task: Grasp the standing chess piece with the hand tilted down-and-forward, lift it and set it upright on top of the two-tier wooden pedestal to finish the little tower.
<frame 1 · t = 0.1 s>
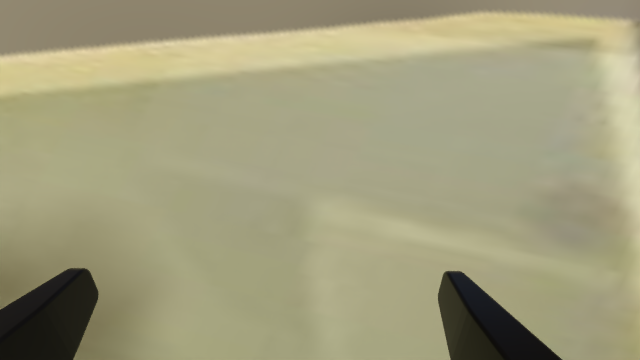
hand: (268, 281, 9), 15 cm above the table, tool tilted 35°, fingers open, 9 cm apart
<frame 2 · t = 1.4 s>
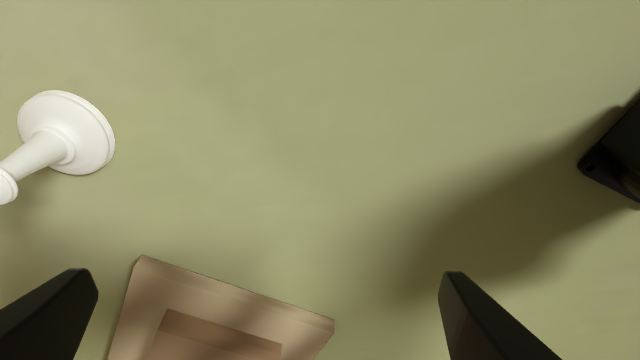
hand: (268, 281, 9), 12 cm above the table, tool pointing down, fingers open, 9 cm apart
pedestal: (213, 345, 30), on the table
chess piece: (73, 131, 20), on the table
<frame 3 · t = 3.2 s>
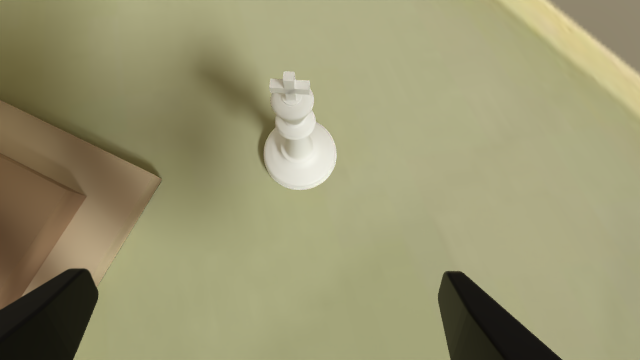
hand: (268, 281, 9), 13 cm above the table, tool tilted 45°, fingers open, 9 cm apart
chess piece: (300, 155, 24), on the table
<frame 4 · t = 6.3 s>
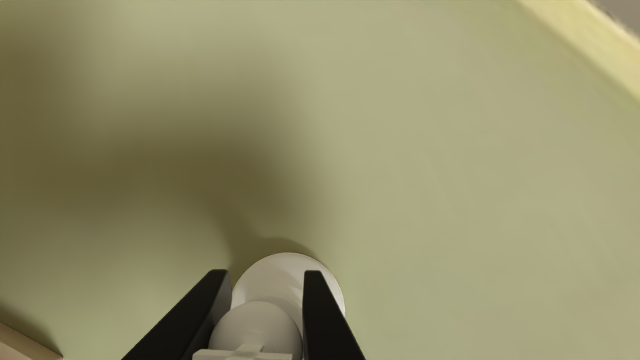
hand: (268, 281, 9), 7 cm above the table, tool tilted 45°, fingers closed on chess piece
chess piece: (287, 311, 15), on the table, touching gripper
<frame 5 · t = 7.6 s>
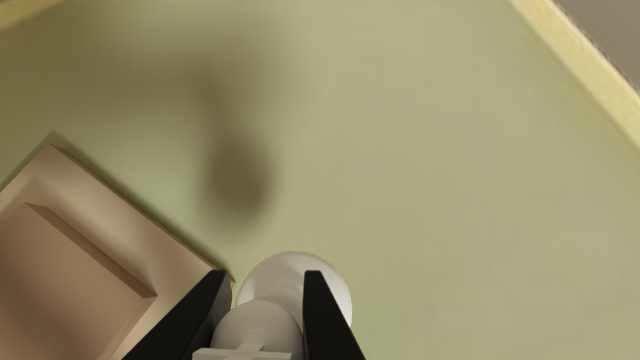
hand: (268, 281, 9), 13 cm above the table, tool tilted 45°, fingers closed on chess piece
pedestal: (60, 313, 21), on the table
chess piece: (294, 309, 15), point 7 cm above the table, touching gripper
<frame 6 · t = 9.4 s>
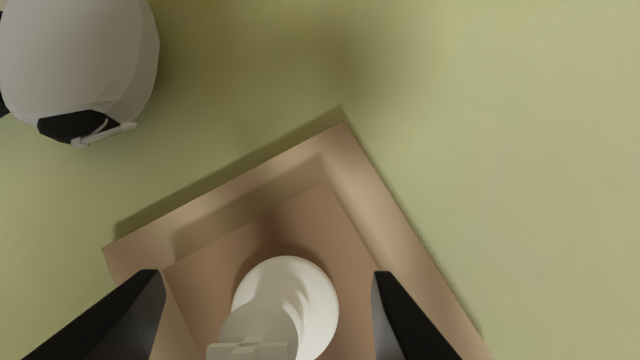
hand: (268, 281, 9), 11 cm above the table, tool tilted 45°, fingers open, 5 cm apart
robot toy: (59, 81, 23), on the table
pedestal: (294, 302, 19), on the table
chess piece: (286, 309, 17), point 3 cm above the table, touching pedestal
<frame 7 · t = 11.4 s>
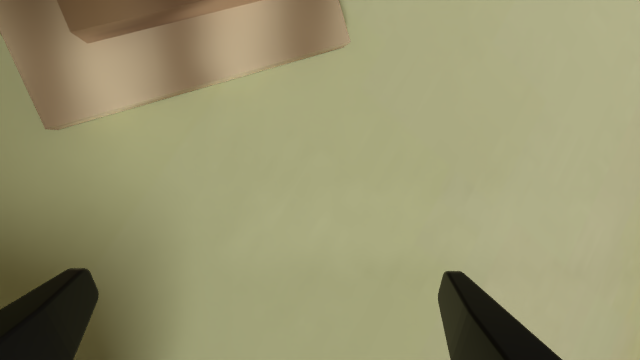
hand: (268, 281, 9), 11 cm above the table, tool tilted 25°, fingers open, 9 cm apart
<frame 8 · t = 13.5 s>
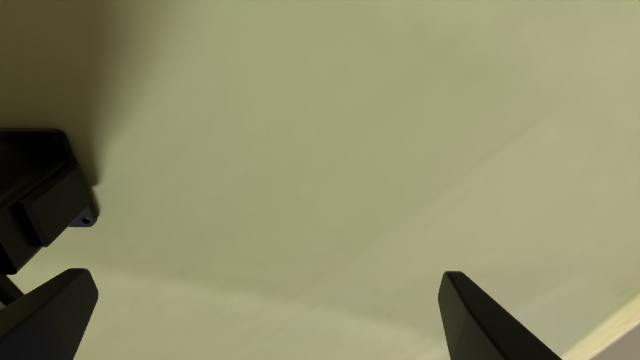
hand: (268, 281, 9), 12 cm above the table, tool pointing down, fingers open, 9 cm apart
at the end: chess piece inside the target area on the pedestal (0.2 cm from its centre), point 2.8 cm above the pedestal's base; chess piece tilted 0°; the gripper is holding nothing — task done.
